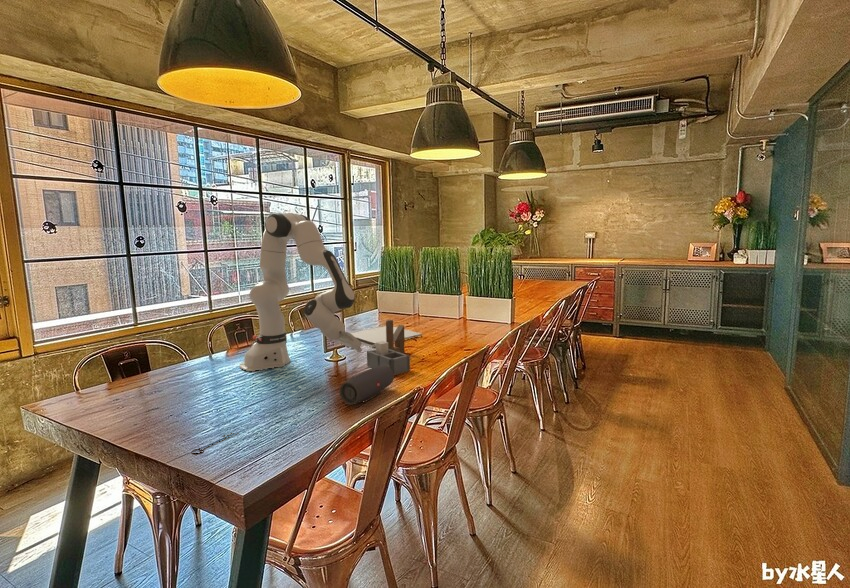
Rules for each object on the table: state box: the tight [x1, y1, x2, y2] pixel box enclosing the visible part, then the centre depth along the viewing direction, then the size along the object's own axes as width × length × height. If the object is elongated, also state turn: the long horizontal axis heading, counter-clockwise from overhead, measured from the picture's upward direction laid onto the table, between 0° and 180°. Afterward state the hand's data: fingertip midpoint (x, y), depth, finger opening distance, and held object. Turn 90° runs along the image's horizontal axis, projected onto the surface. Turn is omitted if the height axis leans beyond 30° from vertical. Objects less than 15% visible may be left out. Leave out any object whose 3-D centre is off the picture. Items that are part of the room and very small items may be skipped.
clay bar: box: [375, 341, 388, 355], centre depth 205 cm, size 4×4×10 cm
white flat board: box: [349, 325, 423, 349], centre depth 261 cm, size 35×2×31 cm
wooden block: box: [385, 319, 406, 354], centre depth 224 cm, size 4×11×18 cm, turn 142°
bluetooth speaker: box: [339, 365, 395, 406], centre depth 168 cm, size 23×9×10 cm, turn 151°
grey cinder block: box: [366, 348, 411, 376], centre depth 202 cm, size 10×18×7 cm, turn 41°
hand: (354, 348), depth 198 cm, fingers open, 8 cm apart
